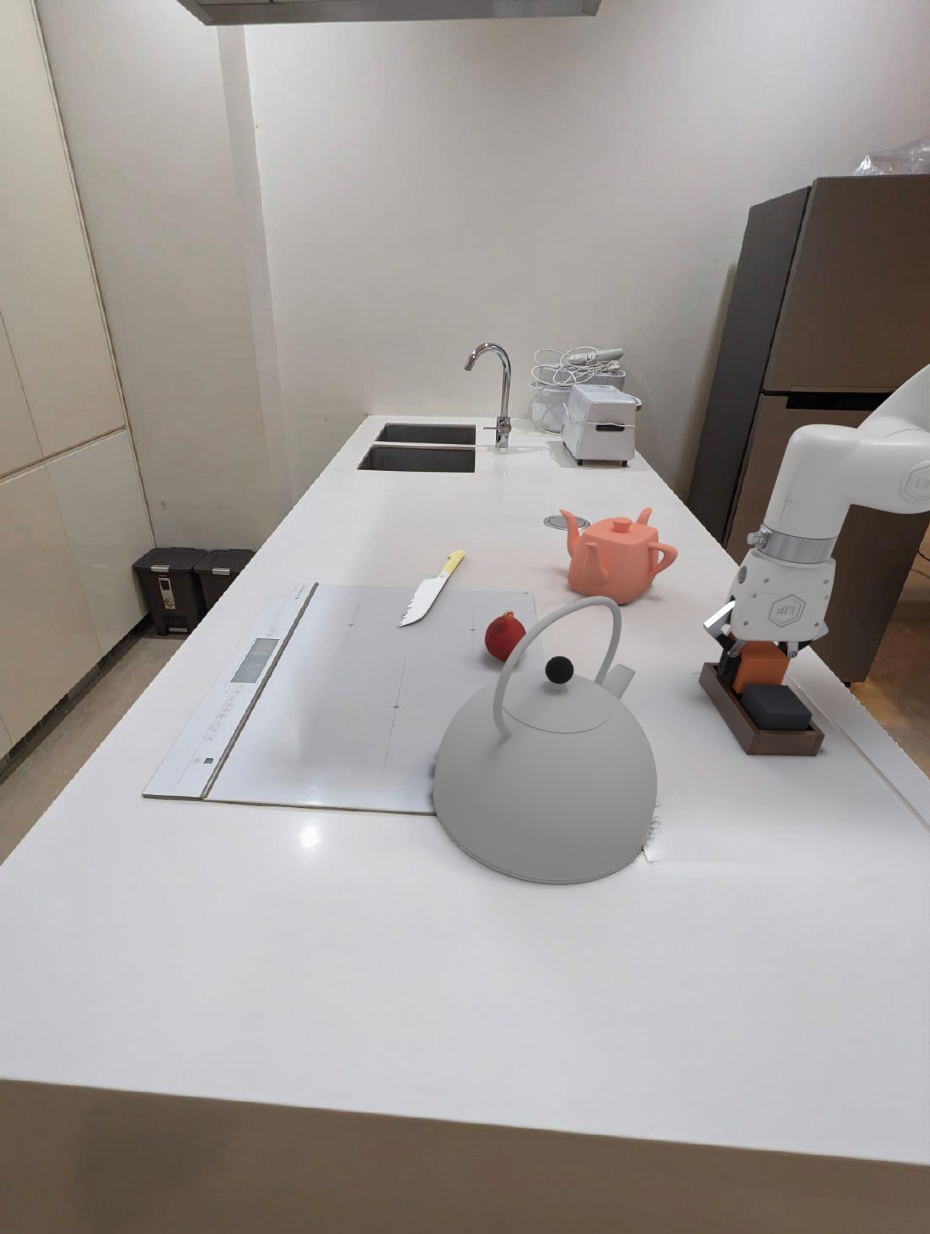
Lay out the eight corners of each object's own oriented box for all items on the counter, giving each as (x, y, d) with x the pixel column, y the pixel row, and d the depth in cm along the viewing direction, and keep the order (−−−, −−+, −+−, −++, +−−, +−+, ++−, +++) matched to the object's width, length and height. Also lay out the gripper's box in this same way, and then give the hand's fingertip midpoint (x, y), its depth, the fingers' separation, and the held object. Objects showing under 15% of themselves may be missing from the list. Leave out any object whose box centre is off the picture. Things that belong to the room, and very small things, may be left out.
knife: (390, 623, 98) (419, 622, 97) (442, 549, 125) (466, 547, 123) (391, 631, 99) (420, 630, 97) (443, 555, 126) (467, 554, 124)
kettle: (539, 702, 82) (563, 535, 70) (704, 795, 67) (769, 605, 55) (389, 788, 68) (386, 596, 55) (557, 929, 53) (602, 712, 41)
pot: (549, 567, 120) (557, 502, 113) (638, 565, 121) (652, 501, 114) (575, 610, 104) (586, 538, 98) (677, 609, 105) (695, 537, 99)
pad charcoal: (774, 718, 79) (787, 685, 76) (798, 749, 74) (813, 714, 71) (734, 717, 79) (746, 684, 76) (755, 748, 73) (768, 713, 71)
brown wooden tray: (755, 685, 86) (763, 663, 84) (814, 759, 73) (825, 735, 71) (697, 684, 86) (704, 661, 84) (745, 758, 73) (754, 733, 71)
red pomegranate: (503, 676, 87) (508, 625, 83) (474, 659, 91) (478, 609, 86) (532, 663, 90) (538, 612, 86) (503, 647, 94) (507, 598, 89)
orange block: (756, 668, 83) (767, 635, 80) (777, 694, 78) (790, 659, 75) (718, 668, 83) (728, 635, 80) (737, 693, 78) (749, 659, 75)
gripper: (732, 554, 68) (691, 694, 77) (891, 557, 68) (830, 697, 77) (706, 530, 74) (671, 663, 84) (851, 533, 74) (799, 665, 84)
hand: (748, 678), depth 80 cm, fingers closed on orange block, 5 cm apart
